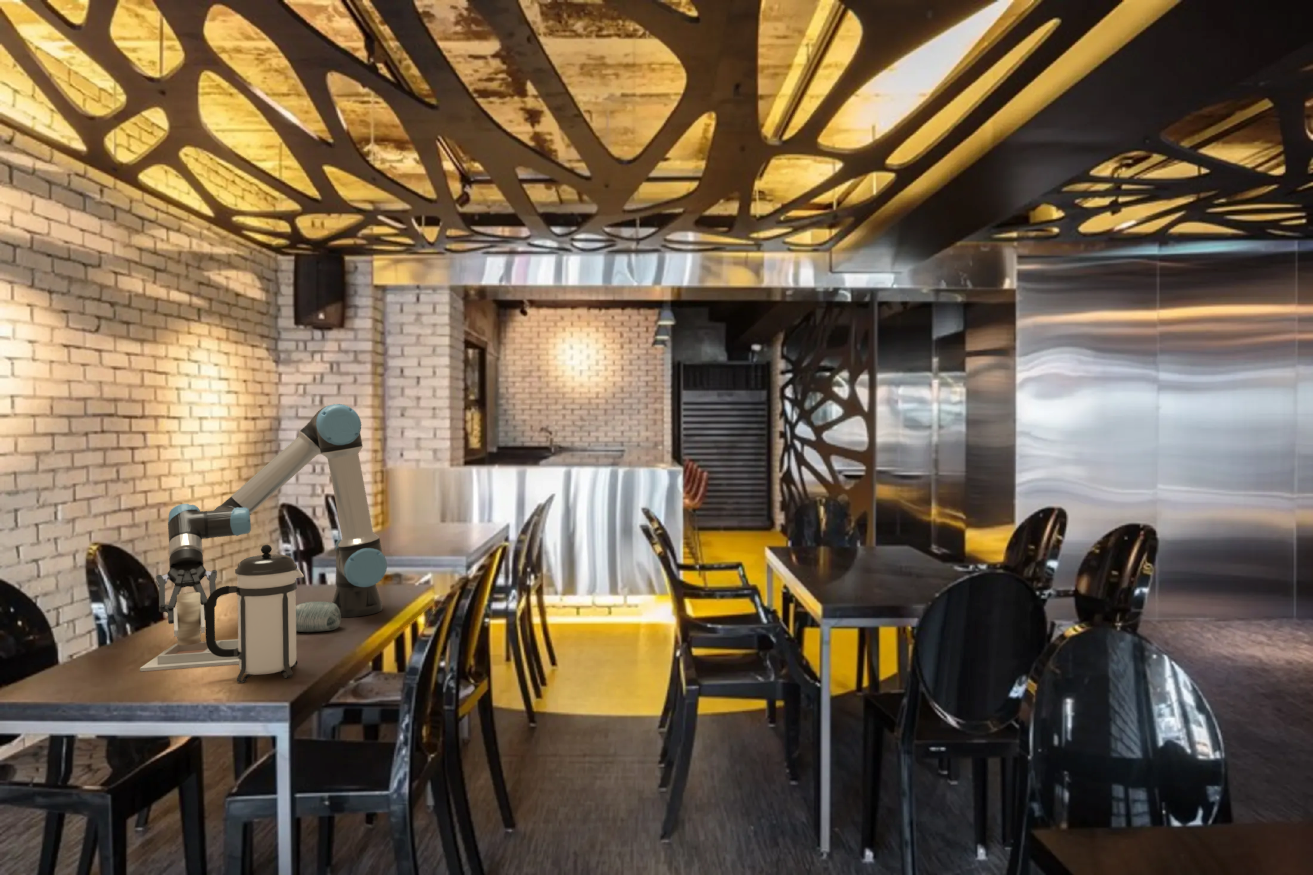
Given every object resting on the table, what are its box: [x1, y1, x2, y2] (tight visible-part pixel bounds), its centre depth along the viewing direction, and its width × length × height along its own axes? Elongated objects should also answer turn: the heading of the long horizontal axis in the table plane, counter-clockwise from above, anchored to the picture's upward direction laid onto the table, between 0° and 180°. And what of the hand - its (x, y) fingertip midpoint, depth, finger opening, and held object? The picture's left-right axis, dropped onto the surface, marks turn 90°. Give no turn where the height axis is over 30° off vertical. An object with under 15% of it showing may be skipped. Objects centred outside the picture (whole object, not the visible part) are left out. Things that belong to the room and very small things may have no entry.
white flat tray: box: [139, 638, 239, 672], centre depth 195 cm, size 26×16×3 cm, turn 103°
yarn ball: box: [296, 600, 342, 633], centre depth 221 cm, size 14×10×10 cm
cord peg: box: [176, 591, 202, 645], centre depth 193 cm, size 5×5×12 cm
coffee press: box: [205, 544, 304, 684], centre depth 180 cm, size 17×16×30 cm
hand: (189, 631), depth 190 cm, fingers closed on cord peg, 5 cm apart
